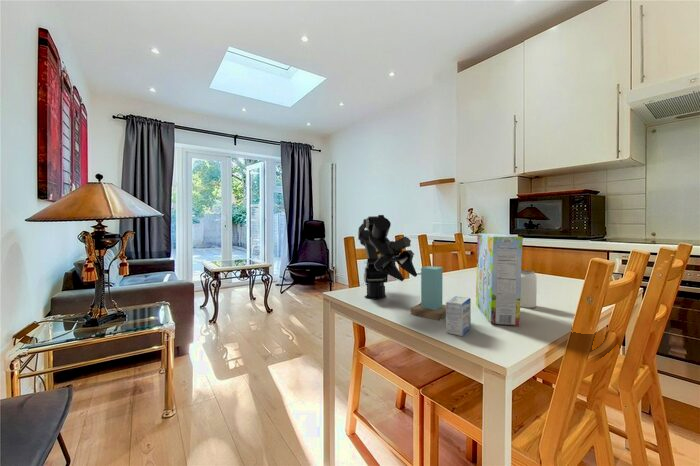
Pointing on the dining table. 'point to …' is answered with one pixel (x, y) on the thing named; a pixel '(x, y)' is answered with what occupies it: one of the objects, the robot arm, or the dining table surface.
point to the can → (528, 289)
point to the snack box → (499, 277)
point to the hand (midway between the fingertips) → (409, 278)
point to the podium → (429, 312)
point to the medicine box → (458, 315)
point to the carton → (431, 287)
